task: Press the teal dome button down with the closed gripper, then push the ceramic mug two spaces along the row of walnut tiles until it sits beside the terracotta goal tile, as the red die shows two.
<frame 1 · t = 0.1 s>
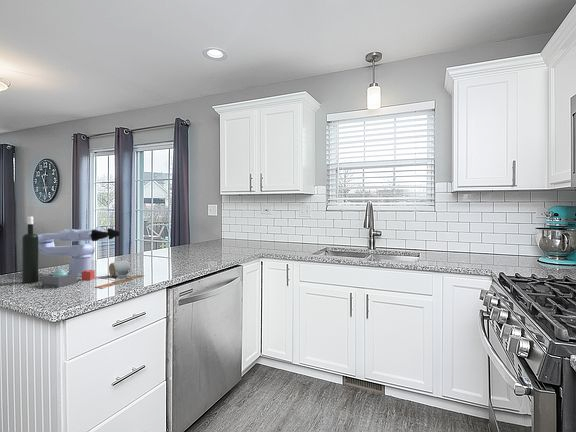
hand: (113, 234, 160), 22 cm above the countertop, tool horizontal, fingers open, 7 cm apart
tile track: (121, 281, 153), on the countertop
ceramic mug: (121, 276, 164), on the countertop
dome housing: (60, 284, 145), on the countertop
dome: (60, 273, 145), point 5 cm above the countertop, slide at 0.0 cm
wine bottle: (30, 282, 148), on the countertop
die: (88, 279, 156), on the countertop
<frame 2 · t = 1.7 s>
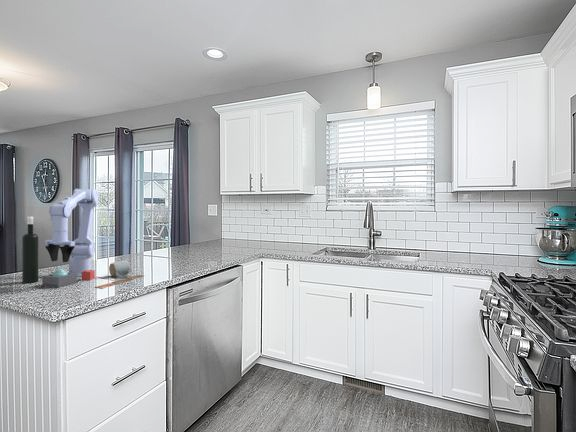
hand: (60, 261, 145), 10 cm above the countertop, tool pointing down, fingers open, 6 cm apart
nothing on the countertop moved.
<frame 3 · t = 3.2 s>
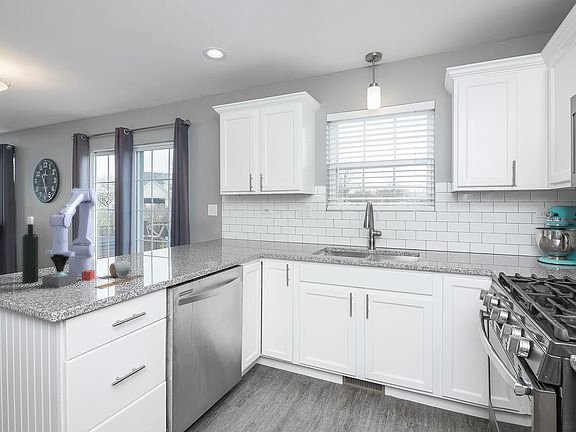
hand: (60, 271, 145), 6 cm above the countertop, tool pointing down, fingers closed, pressing on dome
dome: (60, 276, 145), point 4 cm above the countertop, slide at 1.1 cm, touching gripper
everything else where it was.
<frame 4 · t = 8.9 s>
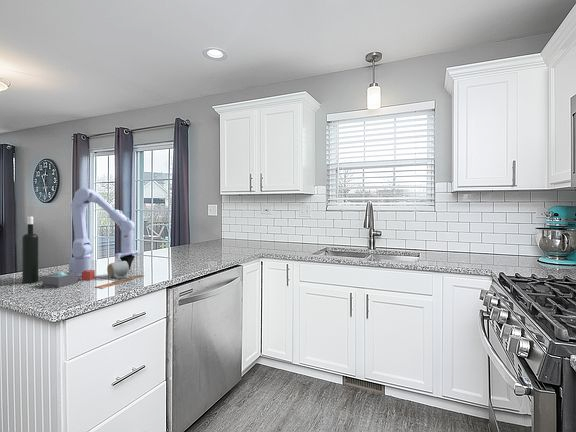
hand: (127, 269, 168), 2 cm above the countertop, tool pointing down, fingers closed, pressing on ceramic mug
ceramic mug: (119, 277, 161), on the countertop, touching gripper
dome: (60, 276, 145), point 4 cm above the countertop, slide at 1.1 cm
everything else where it was.
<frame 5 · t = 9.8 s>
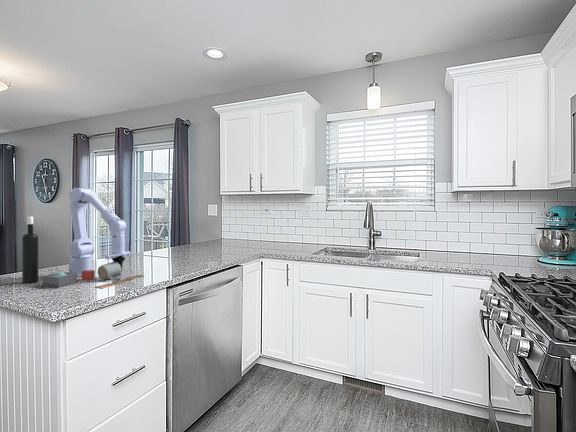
hand: (118, 271, 162), 3 cm above the countertop, tool pointing down, fingers closed, pressing on ceramic mug
ceramic mug: (112, 279, 157), on the countertop, touching gripper
everything else where it was.
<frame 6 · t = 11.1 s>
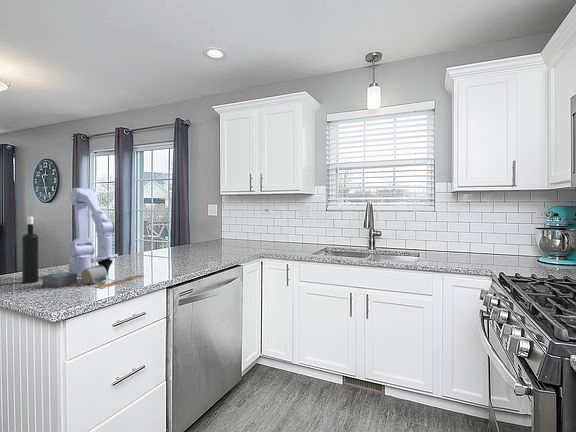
hand: (104, 275, 154), 3 cm above the countertop, tool pointing down, fingers closed
ceramic mug: (96, 283, 149), on the countertop, touching gripper
everything else where it was.
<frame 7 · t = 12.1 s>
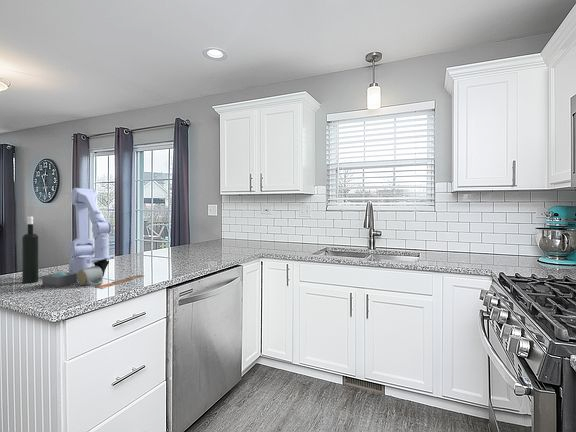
hand: (101, 276, 152), 2 cm above the countertop, tool pointing down, fingers closed
ceramic mug: (92, 284, 147), on the countertop, touching gripper
everything else where it was.
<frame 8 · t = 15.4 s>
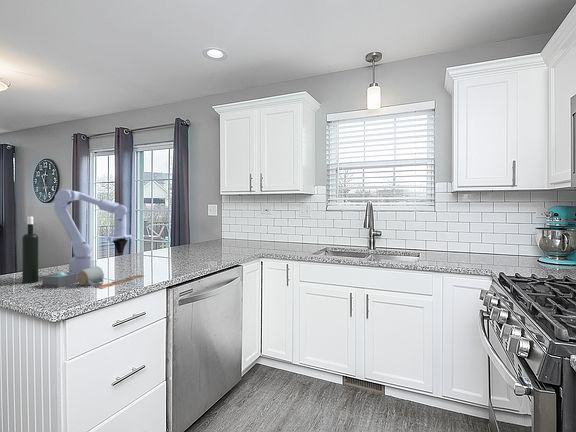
hand: (120, 253, 171), 10 cm above the countertop, tool pointing down, fingers closed
ceramic mug: (92, 285, 146), on the countertop
everything else where it was.
at the end: ceramic mug inside the target area (1.1 cm from its centre), on the countertop; ceramic mug tilted 0°; dome slide at 1.1 cm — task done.
